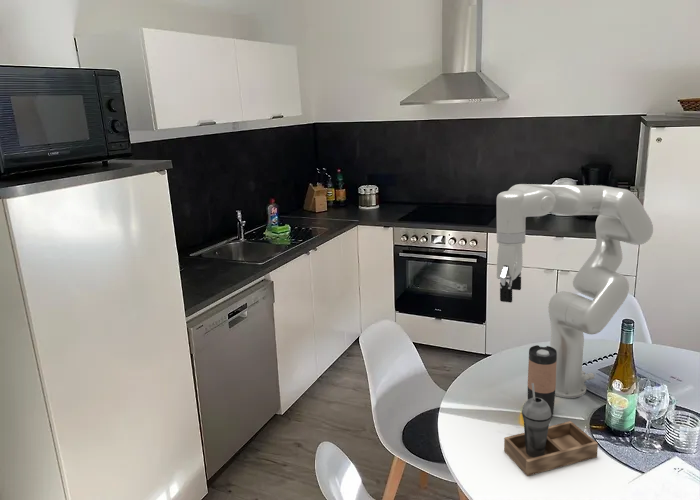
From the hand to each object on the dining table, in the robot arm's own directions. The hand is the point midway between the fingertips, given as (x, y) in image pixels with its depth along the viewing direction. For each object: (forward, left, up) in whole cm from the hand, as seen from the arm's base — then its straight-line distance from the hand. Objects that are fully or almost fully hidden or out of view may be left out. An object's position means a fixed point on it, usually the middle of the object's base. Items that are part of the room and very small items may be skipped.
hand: (510, 295), depth 156 cm
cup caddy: (+2, +23, -36) cm, 43 cm away
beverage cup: (+6, +22, -36) cm, 42 cm away
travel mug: (-7, +6, -36) cm, 37 cm away
